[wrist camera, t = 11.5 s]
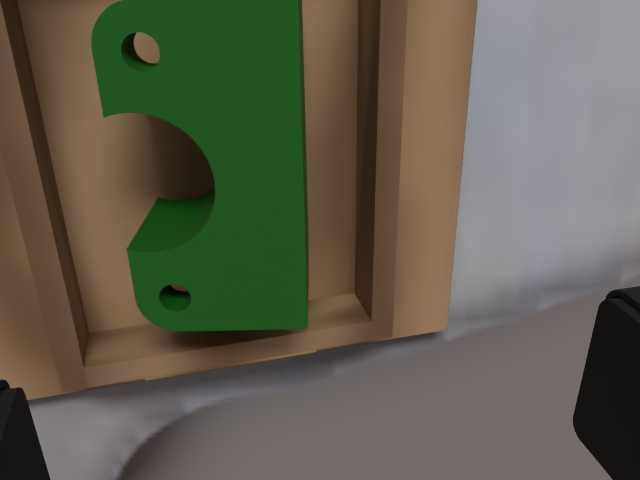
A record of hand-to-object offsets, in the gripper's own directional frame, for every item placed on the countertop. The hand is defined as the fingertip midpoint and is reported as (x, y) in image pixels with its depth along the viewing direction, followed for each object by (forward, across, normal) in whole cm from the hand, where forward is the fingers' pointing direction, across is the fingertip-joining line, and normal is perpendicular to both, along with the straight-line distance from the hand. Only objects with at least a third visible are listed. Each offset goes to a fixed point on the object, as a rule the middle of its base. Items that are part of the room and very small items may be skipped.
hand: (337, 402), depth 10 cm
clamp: (+16, +1, 0) cm, 17 cm away
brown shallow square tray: (+18, +1, 0) cm, 18 cm away
